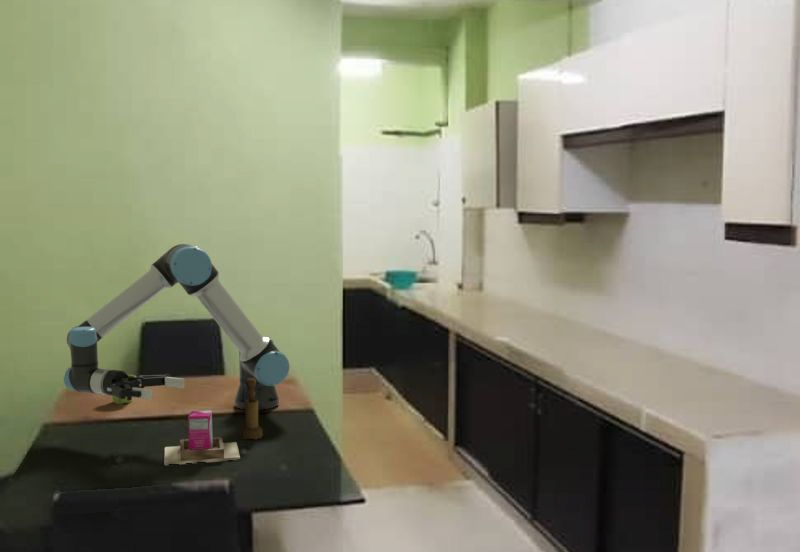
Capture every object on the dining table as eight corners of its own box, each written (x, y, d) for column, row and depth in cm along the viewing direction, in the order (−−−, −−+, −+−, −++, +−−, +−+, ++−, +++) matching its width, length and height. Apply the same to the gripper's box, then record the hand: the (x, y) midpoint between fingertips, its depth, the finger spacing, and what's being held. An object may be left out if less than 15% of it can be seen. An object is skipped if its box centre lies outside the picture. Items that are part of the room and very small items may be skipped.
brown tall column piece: (266, 435, 249) (266, 376, 248) (256, 441, 243) (255, 381, 241) (247, 432, 252) (246, 374, 250) (236, 438, 245) (235, 379, 244)
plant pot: (127, 406, 281) (127, 381, 281) (102, 404, 283) (102, 379, 282) (141, 399, 291) (141, 375, 290) (117, 397, 292) (116, 373, 292)
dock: (236, 444, 239) (236, 433, 239) (239, 459, 226) (239, 448, 226) (164, 449, 234) (164, 438, 234) (164, 465, 221) (164, 453, 220)
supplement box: (192, 450, 232) (191, 410, 230) (213, 449, 232) (213, 410, 231) (188, 456, 226) (187, 415, 225) (210, 456, 226) (209, 415, 225)
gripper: (140, 385, 254) (196, 391, 246) (79, 405, 232) (137, 413, 223) (139, 361, 253) (195, 366, 245) (77, 379, 231) (136, 385, 222)
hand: (168, 388), depth 234 cm, fingers open, 13 cm apart
